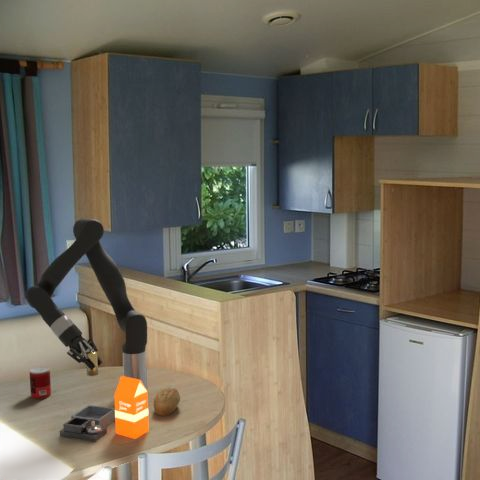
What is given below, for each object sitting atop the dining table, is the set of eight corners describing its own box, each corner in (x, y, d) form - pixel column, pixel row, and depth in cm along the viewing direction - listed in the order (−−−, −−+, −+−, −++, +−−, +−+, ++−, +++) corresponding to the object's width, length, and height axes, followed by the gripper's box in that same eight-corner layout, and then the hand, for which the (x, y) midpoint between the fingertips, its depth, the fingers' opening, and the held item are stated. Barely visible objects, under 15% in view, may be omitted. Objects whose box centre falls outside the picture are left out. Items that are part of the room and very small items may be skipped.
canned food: (54, 393, 292) (53, 367, 291) (43, 400, 285) (42, 373, 283) (38, 391, 295) (37, 365, 293) (27, 398, 287) (25, 371, 286)
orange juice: (134, 439, 248) (133, 383, 245) (115, 433, 253) (113, 378, 250) (149, 431, 255) (147, 376, 252) (130, 425, 259) (128, 372, 256)
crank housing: (72, 427, 258) (71, 411, 257) (106, 432, 253) (106, 416, 252) (59, 436, 251) (58, 419, 250) (94, 442, 246) (93, 424, 245)
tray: (89, 415, 269) (88, 404, 269) (116, 418, 265) (115, 408, 265) (71, 426, 259) (71, 416, 258) (99, 431, 255) (99, 420, 254)
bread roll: (183, 402, 281) (182, 383, 280) (176, 417, 266) (175, 397, 265) (159, 402, 282) (158, 382, 281) (150, 417, 267) (150, 396, 266)
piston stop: (90, 371, 262) (89, 350, 260) (100, 372, 260) (99, 351, 259) (84, 375, 258) (83, 353, 257) (94, 376, 257) (93, 354, 255)
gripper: (60, 329, 252) (92, 366, 250) (82, 319, 266) (113, 353, 263) (48, 342, 255) (80, 379, 253) (71, 331, 268) (101, 366, 266)
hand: (97, 366), depth 258 cm, fingers closed on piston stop, 4 cm apart
